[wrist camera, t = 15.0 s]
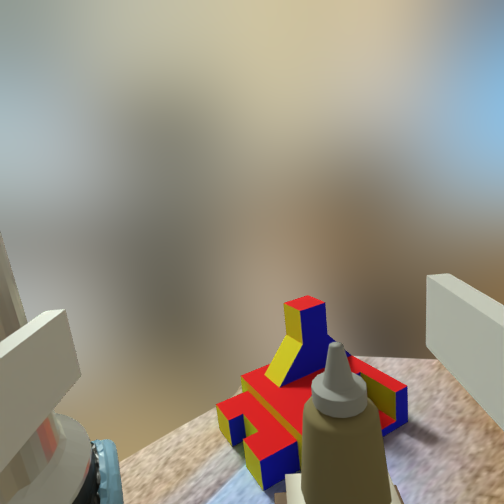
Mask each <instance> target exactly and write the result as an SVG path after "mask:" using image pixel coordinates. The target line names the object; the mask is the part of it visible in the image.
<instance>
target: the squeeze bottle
mask: <svg viewBox="0 0 504 504" xmlns="http://www.w3.org/2000/svg"><path fill="white" fill-rule="evenodd" d="M311 390H312V396H311V397H310V398H309V399H308V401H307V402H306V403H305V404H304V409H303V426H302V466H301V491H302V494H303V497H304V500H305V503H306V504H391V502H392V498H391V490H390V483H389V476H388V470H387V463H386V457H385V450H384V443H383V437H382V430H381V424H380V417H379V411H378V408H377V407H376V405H375V404H374V403H373V401H372V400H371V399H369V398H367V386H366V382H365V381H364V380H363V379H362V377H360V376H358V375H357V374H355V373H353V372H351V369H350V366H349V362H348V359H347V356H346V352H345V349H344V346H343V344H342V343H340V342H332V343H330V344H329V348H328V354H327V360H326V366H325V372H323V373H321V374H319V375H317V376H316V377H315V378H314V379H313V381H312V385H311Z"/></svg>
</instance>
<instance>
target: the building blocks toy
mask: <svg viewBox="0 0 504 504" xmlns="http://www.w3.org/2000/svg"><path fill="white" fill-rule="evenodd" d="M284 314H285V324H286V336H285V338H284V340H283V342H282V343H281V345H280V347H279V349H278V351H277V352H276V354H275V356H274V358H273V360H272V362H271V364H269V365H266V366H264V367H261V368H259V369H256V370H254V371H251V372H249V373H246V374H244V375H241V383H242V391H243V393H241V394H239V395H237V396H234V397H232V398H230V399H227V400H225V401H223V402H221V403H218V404H216V408H217V415H218V422H219V428H220V430H221V432H222V433H223V435H224V436H225V438H226V439H227V440H228V442H229V443H230V445H231V446H232V447H233V446H235V445H237V444H239V443H241V442H243V445H244V452H245V459H246V467H247V468H248V470H249V471H250V473H251V474H252V475H253V477H254V478H255V480H256V481H257V483H258V484H259V485H260V487H261V488H262V490H263V491H264V490H266V489H268V488H269V487H271V486H273V485H274V484H276V483H278V482H279V481H281V480H283V479H285V474H293V473H295V472H297V471H298V470H301V466H302V426H303V409H304V404H305V403H306V402H307V401H308V399H309V398H310V397H311V396H312V390H311V385H312V381H313V379H314V378H315V377H316V376H317V375H319V374H321V373H323V372H325V366H326V360H327V354H328V348H329V344H330V343H332V342H336V341H335V340H333V339H332V338H331V337H330V336H329V335H328V334H327V322H326V308H325V302H323V301H321V300H318V299H316V298H313V297H311V296H304V297H301V298H298V299H295V300H292V301H288V302H285V303H284ZM345 352H346V356H347V359H348V362H349V366H350V369H351V372H353V373H355V374H357V375H358V376H360V377H362V379H363V380H364V381H365V382H366V386H367V398H369V399H371V400H372V401H373V403H374V404H375V405H376V407H377V408H378V411H379V417H380V424H381V430H382V437H384V436H385V435H387V434H389V433H390V432H392V431H393V430H395V429H397V428H398V427H400V426H402V425H403V424H405V423H406V422H408V395H407V385H405V384H403V383H401V382H399V381H397V380H396V379H394V378H392V377H390V376H388V375H387V374H385V373H383V372H381V371H379V370H377V369H376V368H374V367H372V366H370V365H368V364H366V363H365V362H363V361H361V360H359V359H357V358H356V357H354V356H352V355H350V354H349V353H348V352H347V351H346V350H345Z"/></svg>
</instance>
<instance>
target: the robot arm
mask: <svg viewBox="0 0 504 504" xmlns="http://www.w3.org/2000/svg"><path fill="white" fill-rule="evenodd" d="M426 306H427V307H426V347H427V348H428V349H429V350H430V351H431V352H432V353H433V354H434V355H435V356H436V357H437V359H438V360H439V361H440V362H441V363H442V364H443V365H444V366H445V367H446V368H447V370H448V371H449V372H450V373H451V374H452V375H453V376H454V377H455V378H456V379H457V380H458V382H459V383H460V384H461V385H462V386H463V387H464V388H465V389H466V390H467V391H468V392H469V394H470V395H471V396H472V397H473V398H474V399H475V400H476V401H477V402H478V403H479V405H480V406H481V407H482V408H483V409H484V410H485V411H486V412H487V413H488V414H489V415H490V417H491V418H492V419H493V420H494V421H495V422H496V423H497V424H498V425H499V426H500V427H501V429H502V430H503V431H504V305H502V304H501V303H499V302H497V301H495V300H494V299H492V298H490V297H489V296H487V295H485V294H483V293H482V292H480V291H478V290H477V289H474V288H473V287H471V286H469V285H468V284H466V283H464V282H463V281H461V280H459V279H458V278H456V277H454V276H452V275H451V274H437V275H427V302H426ZM80 377H81V372H80V368H79V364H78V359H77V355H76V351H75V347H74V344H73V339H72V335H71V331H70V327H69V323H68V319H67V314H66V310H65V309H63V310H62V309H61V310H51V311H44V312H43V313H42V314H40V315H39V316H37V317H36V318H34V319H33V320H31V321H30V322H29V323H28V322H27V319H26V316H25V312H24V309H23V306H22V302H21V299H20V296H19V293H18V289H17V286H16V282H15V279H14V276H13V272H12V269H11V265H10V262H9V259H8V255H7V252H6V249H5V245H4V242H3V239H2V235H1V232H0V504H124V502H123V492H122V483H121V476H120V468H119V461H118V455H117V449H116V445H115V444H114V442H113V441H111V440H108V439H107V440H101V441H100V440H95V441H91V442H90V439H89V437H88V434H87V432H86V430H85V429H84V427H83V426H82V425H81V424H80V423H79V422H78V421H76V420H74V419H73V418H70V417H68V416H65V415H62V414H57V413H55V412H54V408H55V407H56V405H57V404H58V403H59V402H60V401H61V399H62V398H63V397H64V396H65V395H66V393H67V392H68V391H69V390H70V388H71V387H72V386H73V385H74V384H75V382H76V381H77V380H78V379H79V378H80Z"/></svg>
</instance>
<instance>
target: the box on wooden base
mask: <svg viewBox="0 0 504 504" xmlns="http://www.w3.org/2000/svg"><path fill="white" fill-rule="evenodd" d="M388 476H389V483H390V490H391V498H392V502H391V504H404V503H403V500H402V498H401V496H400V493H399V491H398V489H397V486H396V485H393V483H392V480H391V478H390V475H389V473H388ZM285 481H286V492H282V493H274V496H275V504H306V503H305V500H304V497H303V494H302V491H301V473H298V474H285Z"/></svg>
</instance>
